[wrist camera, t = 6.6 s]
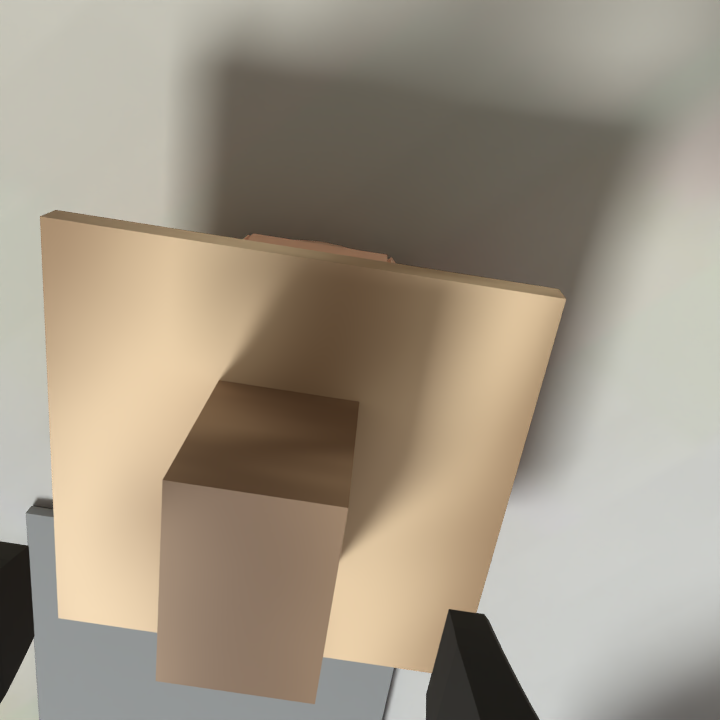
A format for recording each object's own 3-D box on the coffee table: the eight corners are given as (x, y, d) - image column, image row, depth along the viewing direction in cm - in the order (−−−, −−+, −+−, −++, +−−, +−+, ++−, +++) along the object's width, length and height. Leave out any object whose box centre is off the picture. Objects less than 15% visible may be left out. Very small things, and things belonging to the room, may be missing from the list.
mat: (416, 564, 22) (416, 571, 22) (359, 809, 28) (358, 819, 27) (31, 506, 22) (25, 513, 22) (47, 763, 28) (42, 773, 27)
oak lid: (558, 288, 15) (627, 380, 10) (455, 656, 19) (474, 828, 15) (55, 209, 14) (-89, 269, 10) (69, 599, 19) (-27, 756, 14)
